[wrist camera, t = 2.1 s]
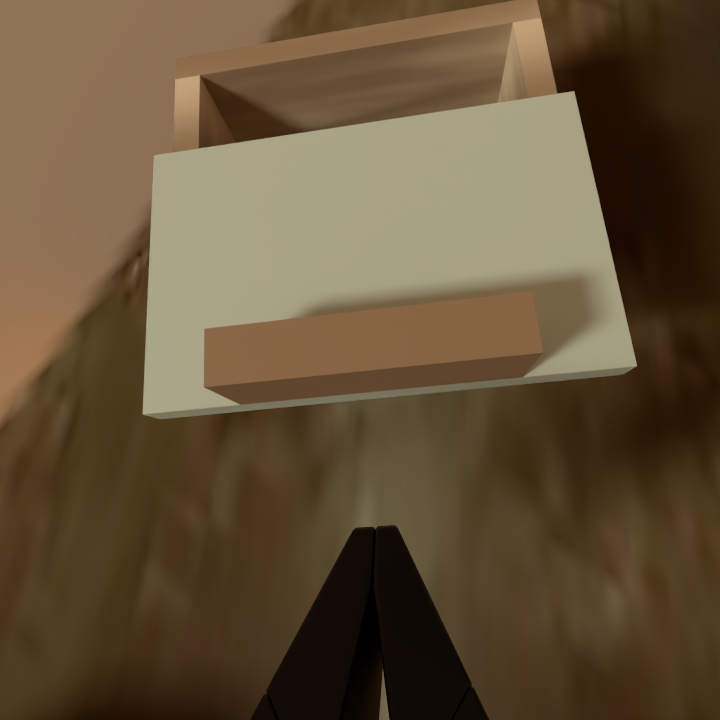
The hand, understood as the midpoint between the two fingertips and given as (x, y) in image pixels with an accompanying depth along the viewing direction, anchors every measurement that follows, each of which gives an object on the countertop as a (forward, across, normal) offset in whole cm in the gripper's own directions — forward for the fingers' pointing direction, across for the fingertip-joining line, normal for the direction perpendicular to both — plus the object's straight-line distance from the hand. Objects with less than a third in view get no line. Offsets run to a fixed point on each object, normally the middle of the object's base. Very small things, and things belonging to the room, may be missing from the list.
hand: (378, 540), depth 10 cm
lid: (+9, 0, -3) cm, 9 cm away
